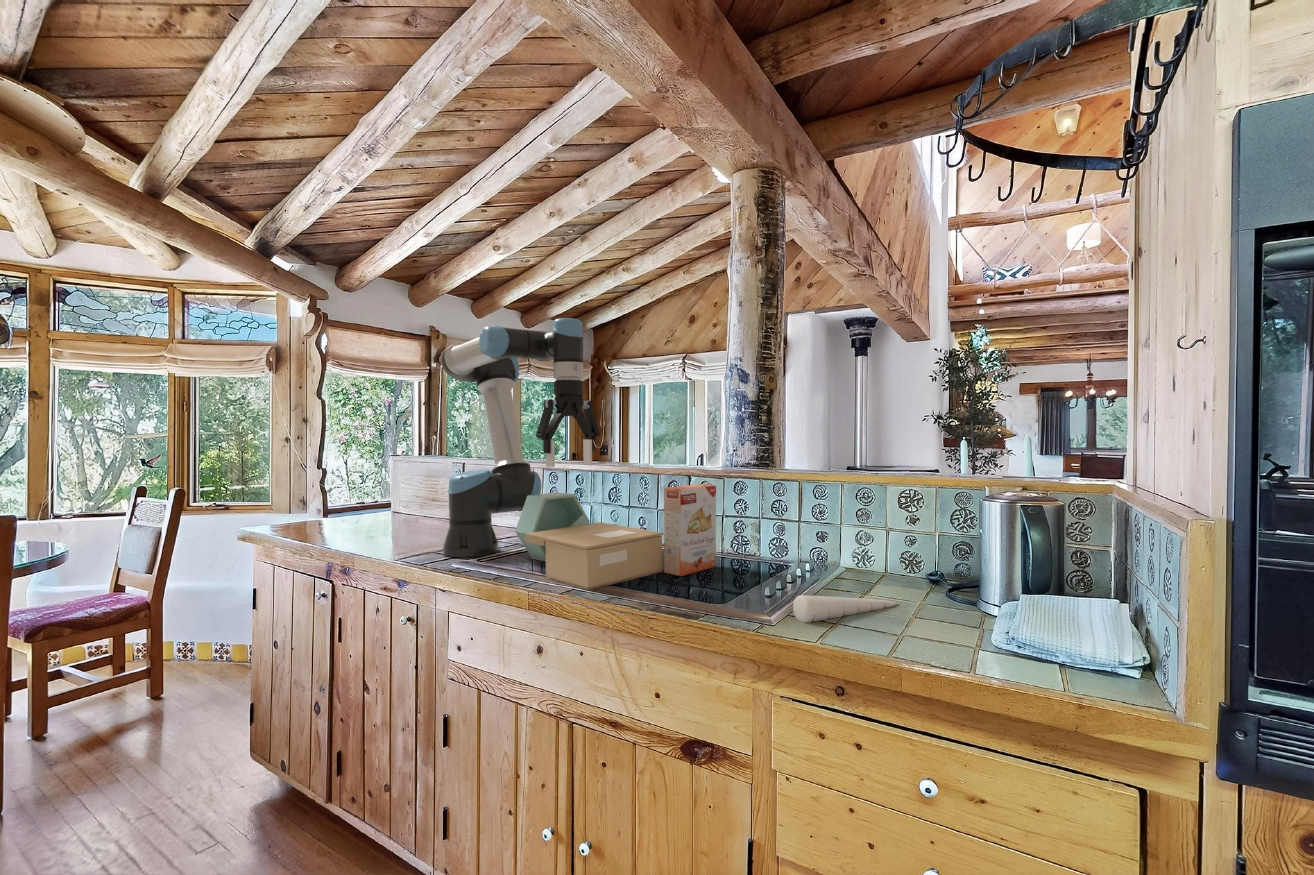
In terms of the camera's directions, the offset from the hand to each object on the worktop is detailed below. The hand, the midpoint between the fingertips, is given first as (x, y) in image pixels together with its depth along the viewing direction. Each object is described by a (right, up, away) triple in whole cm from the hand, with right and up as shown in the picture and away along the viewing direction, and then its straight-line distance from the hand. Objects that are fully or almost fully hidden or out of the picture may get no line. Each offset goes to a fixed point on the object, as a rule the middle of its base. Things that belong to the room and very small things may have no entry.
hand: (569, 465), depth 154 cm
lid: (+7, -18, -7) cm, 21 cm away
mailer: (+10, -26, -10) cm, 29 cm away
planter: (-6, -26, +10) cm, 28 cm away
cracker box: (+31, -26, -6) cm, 41 cm away
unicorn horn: (+58, -26, -41) cm, 76 cm away
